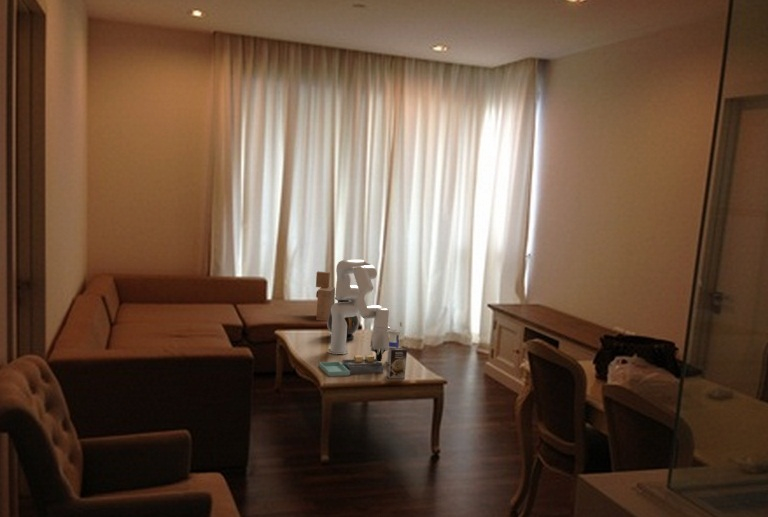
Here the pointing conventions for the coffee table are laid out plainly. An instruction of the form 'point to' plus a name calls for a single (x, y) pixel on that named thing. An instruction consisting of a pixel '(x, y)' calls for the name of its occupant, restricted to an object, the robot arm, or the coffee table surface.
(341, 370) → the tray
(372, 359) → the tan wooden block
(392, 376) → the coffee box
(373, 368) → the grey flat channelled block
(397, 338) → the water bottle
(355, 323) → the amphora vase
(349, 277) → the robot arm
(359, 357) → the tan wooden cube
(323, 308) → the tan blocky figurine
